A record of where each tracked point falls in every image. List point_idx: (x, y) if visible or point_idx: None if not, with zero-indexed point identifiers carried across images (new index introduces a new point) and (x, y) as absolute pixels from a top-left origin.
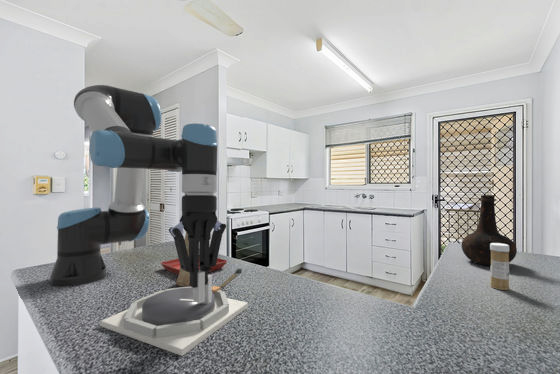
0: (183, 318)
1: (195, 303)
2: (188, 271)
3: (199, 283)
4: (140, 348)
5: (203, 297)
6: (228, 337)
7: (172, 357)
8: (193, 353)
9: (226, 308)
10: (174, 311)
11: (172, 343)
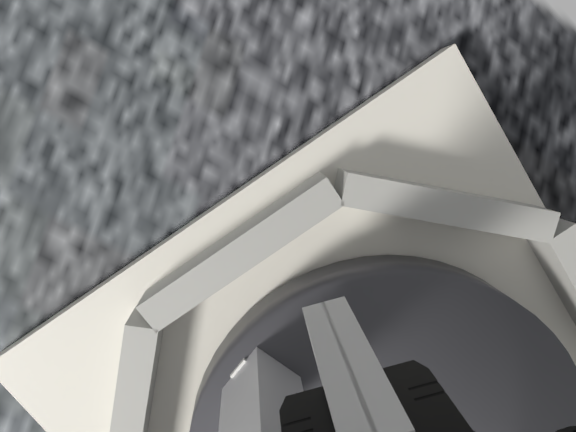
0: (415, 266)
1: None
2: (567, 430)
3: (374, 368)
4: (572, 204)
5: (314, 319)
6: (209, 90)
7: (478, 62)
8: (394, 43)
9: (152, 292)
10: (459, 333)
11: (481, 119)
